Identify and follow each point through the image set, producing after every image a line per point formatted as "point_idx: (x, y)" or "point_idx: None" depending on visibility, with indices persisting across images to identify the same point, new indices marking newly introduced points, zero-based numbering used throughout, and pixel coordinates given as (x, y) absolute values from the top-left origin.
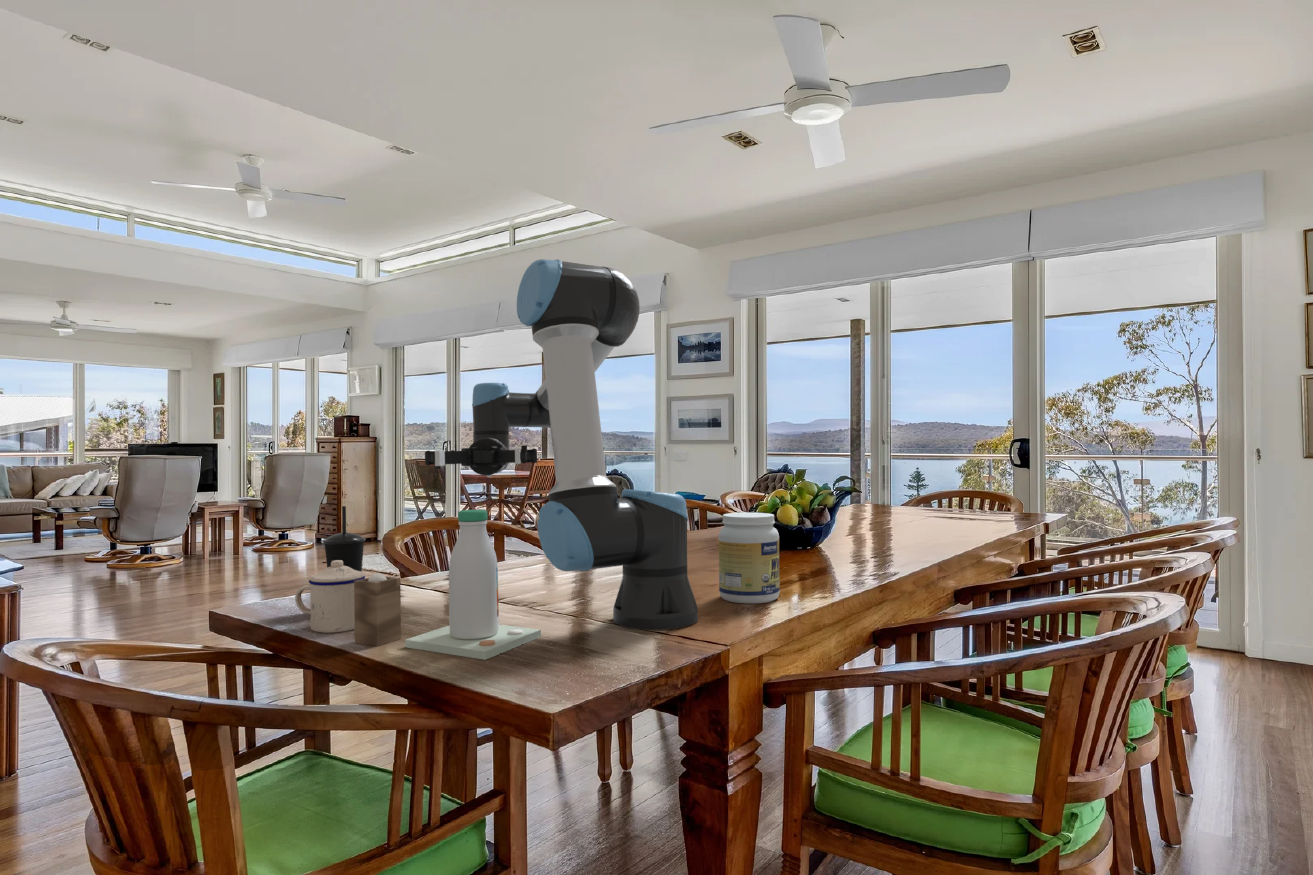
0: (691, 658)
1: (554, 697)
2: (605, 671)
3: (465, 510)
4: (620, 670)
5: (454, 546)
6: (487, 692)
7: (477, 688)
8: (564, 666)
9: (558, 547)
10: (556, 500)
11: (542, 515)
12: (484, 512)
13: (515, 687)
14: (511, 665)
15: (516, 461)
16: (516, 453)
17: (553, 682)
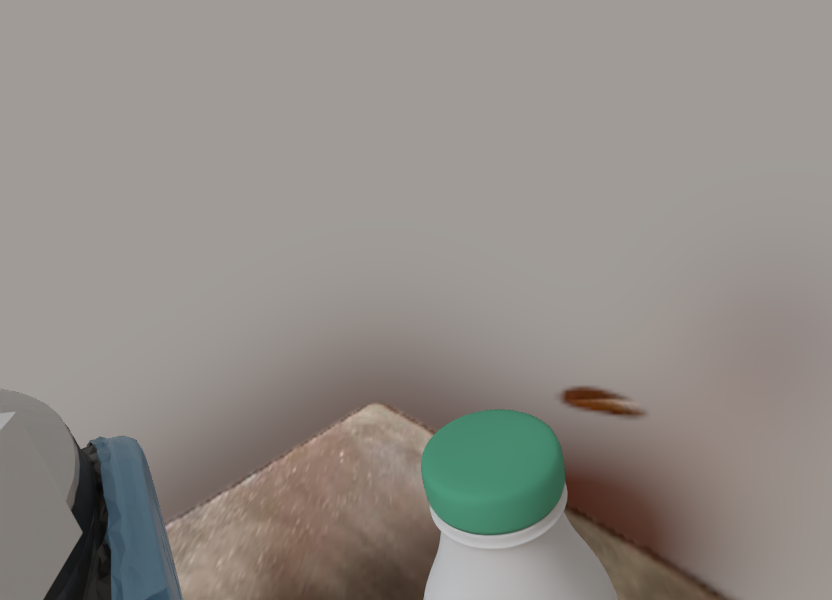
0: None
1: (364, 441)
2: (250, 537)
3: (526, 450)
4: (222, 540)
5: (591, 552)
6: None
7: None
8: (318, 567)
9: (175, 575)
10: (88, 463)
11: (161, 549)
12: (432, 438)
13: None
14: None
15: (59, 516)
16: (23, 453)
17: (355, 492)
